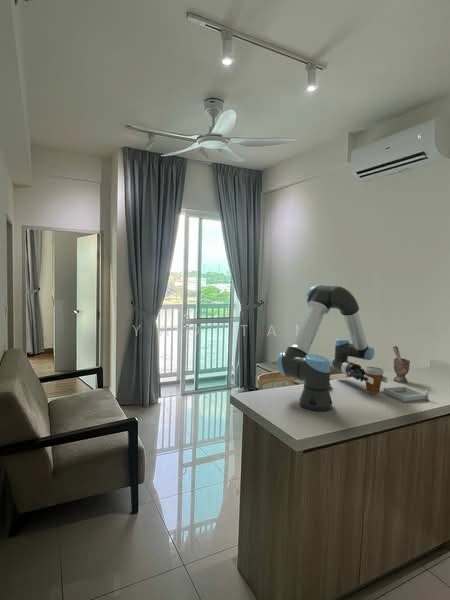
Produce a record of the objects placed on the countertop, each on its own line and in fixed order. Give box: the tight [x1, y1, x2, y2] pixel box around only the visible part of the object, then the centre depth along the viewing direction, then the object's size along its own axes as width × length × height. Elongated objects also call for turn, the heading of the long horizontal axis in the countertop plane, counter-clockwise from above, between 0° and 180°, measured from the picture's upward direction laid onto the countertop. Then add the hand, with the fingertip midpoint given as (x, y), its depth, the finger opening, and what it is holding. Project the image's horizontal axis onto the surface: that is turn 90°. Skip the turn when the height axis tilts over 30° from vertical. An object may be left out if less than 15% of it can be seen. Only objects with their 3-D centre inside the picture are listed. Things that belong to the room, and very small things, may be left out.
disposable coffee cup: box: [363, 366, 385, 394], centre depth 191 cm, size 10×10×12 cm
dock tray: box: [380, 385, 430, 404], centre depth 190 cm, size 16×16×5 cm
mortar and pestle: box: [392, 345, 411, 384], centre depth 219 cm, size 12×9×20 cm
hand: (379, 380), depth 186 cm, fingers closed on disposable coffee cup, 8 cm apart
